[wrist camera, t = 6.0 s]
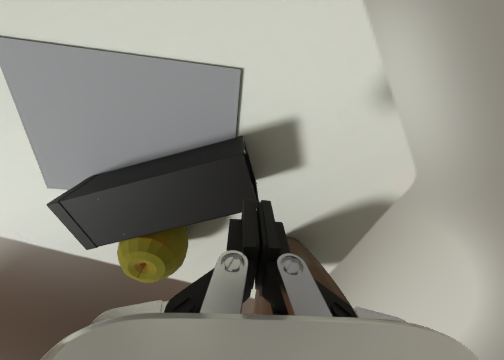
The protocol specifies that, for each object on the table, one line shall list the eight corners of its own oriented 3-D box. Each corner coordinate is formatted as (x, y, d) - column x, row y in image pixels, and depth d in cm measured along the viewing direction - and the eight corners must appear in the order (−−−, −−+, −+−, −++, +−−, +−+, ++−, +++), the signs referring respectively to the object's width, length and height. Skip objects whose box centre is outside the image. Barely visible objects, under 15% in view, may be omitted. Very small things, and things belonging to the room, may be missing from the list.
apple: (202, 239, 38) (186, 295, 28) (154, 249, 39) (122, 306, 29) (182, 195, 33) (155, 243, 24) (129, 207, 34) (81, 258, 24)
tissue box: (244, 152, 22) (21, 211, 24) (260, 208, 26) (65, 255, 28) (243, 134, 29) (71, 181, 31) (256, 180, 33) (100, 219, 35)
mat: (-8, 36, 23) (-12, 35, 23) (240, 69, 26) (240, 69, 25) (49, 186, 32) (47, 188, 32) (230, 201, 34) (230, 202, 34)
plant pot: (266, 211, 35) (281, 299, 21) (336, 233, 38) (391, 324, 24) (237, 266, 41) (233, 364, 27) (300, 282, 44) (326, 377, 30)
